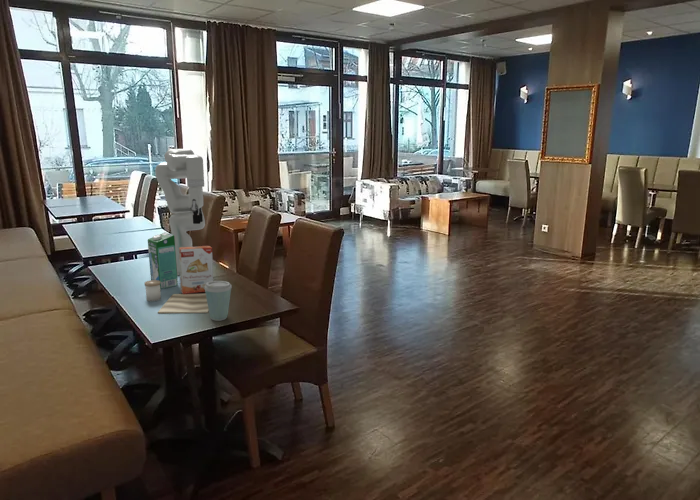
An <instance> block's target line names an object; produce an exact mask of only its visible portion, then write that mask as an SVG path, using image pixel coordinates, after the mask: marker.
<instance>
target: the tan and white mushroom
mask: <svg viewBox="0 0 700 500" xmlns="http://www.w3.org/2000/svg"><path fill="white" fill-rule="evenodd" d="M160 284H161V282H160V281H159V280H151V279H149V280H147V281H145V282H144V286H145V297H146V301H147V302H157V301H160V300H162V293H161V289H160Z"/></svg>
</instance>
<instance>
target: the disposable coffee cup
mask: <svg viewBox="0 0 700 500" xmlns="http://www.w3.org/2000/svg"><path fill="white" fill-rule="evenodd" d="M232 286H233V285H232V284H231V283H230V282H229V281H225V280H213V281H211V282H207V283H206V284H205V286H204V289H205V292H204V294H206V298H207V303H208V309H209V311H208V313H209V317H210V319H211V320H212V321H217V322H218V321H225V320H226V319H227V318H228V315H229V307H230V301H231V293H232V288H233V287H232Z"/></svg>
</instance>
